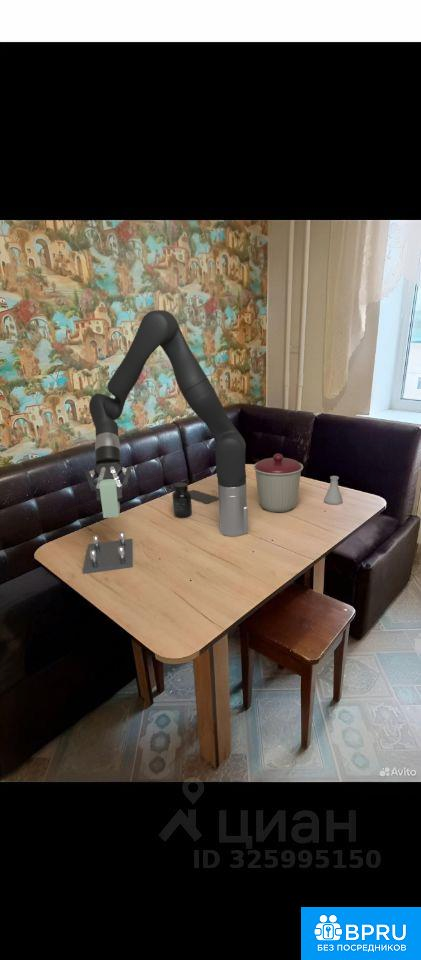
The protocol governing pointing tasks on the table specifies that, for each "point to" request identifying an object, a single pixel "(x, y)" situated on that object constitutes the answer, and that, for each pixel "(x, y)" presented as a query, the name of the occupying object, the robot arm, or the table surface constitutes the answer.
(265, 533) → the table surface
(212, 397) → the robot arm
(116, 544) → the plate
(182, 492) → the supplement bottle
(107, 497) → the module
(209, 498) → the smartphone
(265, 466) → the canister
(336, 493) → the flask
